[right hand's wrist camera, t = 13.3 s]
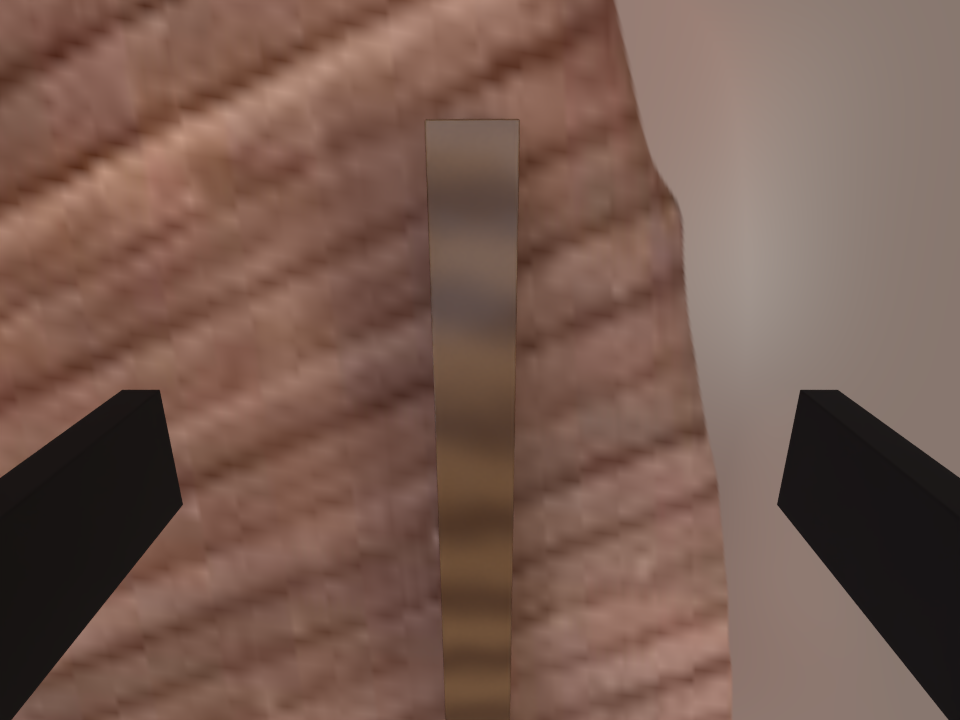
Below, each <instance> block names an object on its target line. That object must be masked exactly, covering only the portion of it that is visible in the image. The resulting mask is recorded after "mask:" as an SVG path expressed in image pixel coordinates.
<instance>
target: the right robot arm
mask: <svg viewBox="0 0 960 720" xmlns="http://www.w3.org/2000/svg"><path fill="white" fill-rule="evenodd" d="M182 505H183V503H182V498H181V493H180V488H179V483H178V478H177V473H176V468H175V463H174V458H173V453H172V449H171V444H170V439H169V434H168V429H167V424H166V419H165V414H164V409H163V404H162V399H161V394H160V390H121V391H120V392H119V393H117V394H116V395H115V396H113V397H112V398H110V399H109V400H108V401H106V402H105V403H103V404H102V405H101V406H99V407H98V408H97V409H95V410H94V411H92V412H91V413H90V414H88V415H87V416H85V417H84V418H83V419H81V420H80V421H79V422H77V423H76V424H74V425H73V426H72V427H70V428H69V429H67V430H66V431H65V432H63V433H62V434H61V435H59V436H58V437H56V438H55V439H54V440H52V441H51V442H49V443H48V444H47V445H45V446H44V447H43V448H41V449H40V450H38V451H37V452H36V453H34V454H33V455H31V456H30V457H29V458H27V459H26V460H25V461H23V462H22V463H20V464H19V465H18V466H16V467H15V468H13V469H12V470H11V471H9V472H8V473H7V474H5V475H4V476H2V477H1V478H0V720H12V718H13V717H14V716H15V715H16V713H17V712H18V711H19V710H20V708H21V707H22V706H23V705H24V703H25V702H26V701H27V700H28V698H29V697H30V696H31V695H32V693H33V692H34V691H35V690H36V688H37V687H38V686H39V685H40V683H41V682H42V681H43V680H44V678H45V677H46V676H47V674H48V673H49V672H50V671H51V669H52V668H53V667H54V666H55V664H56V663H57V662H58V661H59V659H60V658H61V657H62V656H63V654H64V653H65V652H66V651H67V649H68V648H69V647H70V646H71V644H72V643H73V642H74V641H75V639H76V638H77V637H78V636H79V634H80V633H81V632H82V631H83V629H84V628H85V627H86V626H87V624H88V623H89V622H90V621H91V619H92V618H93V617H94V615H95V614H96V613H97V612H98V610H99V609H100V608H101V607H102V605H103V604H104V603H105V602H106V600H107V599H108V598H109V597H110V595H111V594H112V593H113V592H114V590H115V589H116V588H117V587H118V585H119V584H120V583H121V582H122V580H123V579H124V578H125V577H126V575H127V574H128V573H129V572H130V570H131V569H132V568H133V567H134V565H135V564H136V563H137V562H138V560H139V559H140V558H141V557H142V555H143V554H144V553H145V551H146V550H147V549H148V548H149V546H150V545H151V544H152V543H153V541H154V540H155V539H156V538H157V536H158V535H159V534H160V533H161V531H162V530H163V529H164V528H165V526H166V525H167V524H168V523H169V521H170V520H171V519H172V518H173V516H174V515H175V514H176V513H177V511H178V510H179V509H180V508H181V506H182ZM777 505H778V506H779V508H780V509H781V510H782V511H783V513H784V514H785V515H786V516H787V518H788V519H789V520H790V521H791V522H792V524H793V525H794V526H795V528H796V529H797V530H798V531H799V533H800V534H801V535H802V536H803V538H804V539H805V540H806V541H807V543H808V544H809V545H810V546H811V548H812V549H813V550H814V551H815V553H816V554H817V555H818V556H819V558H820V559H821V560H822V562H823V563H824V564H825V565H826V567H827V568H828V569H829V570H830V571H831V573H832V574H833V575H834V577H835V578H836V579H837V580H838V582H839V583H840V584H841V585H842V587H843V588H844V589H845V590H846V592H847V593H848V594H849V595H850V597H851V598H852V599H853V600H854V602H855V603H856V604H857V605H858V607H859V608H860V609H861V610H862V612H863V613H864V614H865V615H866V617H867V618H868V619H869V621H870V622H871V623H872V624H873V626H874V627H875V628H876V629H877V631H878V632H879V633H880V634H881V636H882V637H883V638H884V639H885V641H886V642H887V643H888V644H889V646H890V647H891V648H892V649H893V651H894V652H895V653H896V654H897V656H898V657H899V658H900V659H901V661H902V662H903V663H904V664H905V666H906V667H907V668H908V669H909V671H910V672H911V673H912V674H913V676H914V677H915V678H916V680H917V681H918V682H919V683H920V684H921V686H922V687H923V688H924V690H925V691H926V692H927V693H928V695H929V696H930V697H931V698H932V700H933V701H934V702H935V703H936V705H937V706H938V707H939V708H940V710H941V711H942V712H943V713H944V715H945V716H946V717H947V718H948V720H960V478H959V477H958V476H956V475H955V474H953V473H952V472H951V471H949V470H948V469H947V468H945V467H944V466H942V465H941V464H940V463H938V462H937V461H935V460H934V459H933V458H931V457H930V456H929V455H927V454H926V453H924V452H923V451H922V450H920V449H919V448H917V447H916V446H915V445H913V444H912V443H910V442H909V441H908V440H906V439H905V438H904V437H902V436H901V435H899V434H898V433H897V432H895V431H894V430H893V429H891V428H890V427H888V426H887V425H886V424H884V423H883V422H881V421H880V420H879V419H877V418H876V417H875V416H873V415H872V414H870V413H869V412H868V411H866V410H865V409H863V408H862V407H861V406H859V405H858V404H857V403H855V402H854V401H852V400H851V399H850V398H848V397H847V396H845V395H844V394H843V393H841V392H840V391H838V390H800V394H799V399H798V404H797V409H796V414H795V419H794V424H793V429H792V434H791V439H790V444H789V449H788V453H787V458H786V463H785V468H784V473H783V478H782V483H781V488H780V493H779V498H778V503H777Z"/></svg>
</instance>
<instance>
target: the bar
mask: <svg viewBox="0 0 960 720" xmlns="http://www.w3.org/2000/svg"><path fill="white" fill-rule="evenodd" d="M519 131H520V120H519V119H451V120H425V144H426V173H427V201H428V230H429V259H430V288H431V317H432V345H433V374H434V403H435V432H436V461H437V489H438V518H439V547H440V576H441V605H442V633H443V662H444V691H445V720H510V678H511V617H512V557H513V496H514V435H515V374H516V313H517V252H518V192H519Z"/></svg>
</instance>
